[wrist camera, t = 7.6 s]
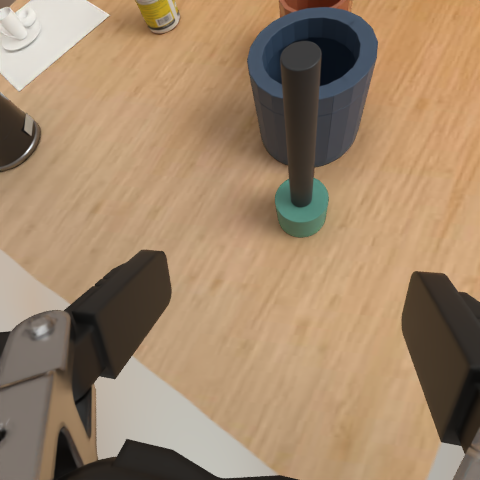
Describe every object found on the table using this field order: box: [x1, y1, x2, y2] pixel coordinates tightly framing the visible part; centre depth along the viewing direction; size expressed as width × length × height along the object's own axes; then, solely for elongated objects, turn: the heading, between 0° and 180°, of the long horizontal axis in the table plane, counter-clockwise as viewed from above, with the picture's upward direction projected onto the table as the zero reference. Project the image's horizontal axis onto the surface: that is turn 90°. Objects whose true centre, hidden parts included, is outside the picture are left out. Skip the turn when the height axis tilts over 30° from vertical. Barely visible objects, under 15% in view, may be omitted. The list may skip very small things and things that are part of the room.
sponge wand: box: [275, 41, 329, 237], centre depth 24 cm, size 5×5×19 cm
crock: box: [279, 0, 352, 18], centre depth 36 cm, size 8×8×8 cm
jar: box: [247, 7, 378, 167], centre depth 31 cm, size 11×11×10 cm
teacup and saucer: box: [0, 6, 42, 52], centre depth 52 cm, size 9×8×4 cm
